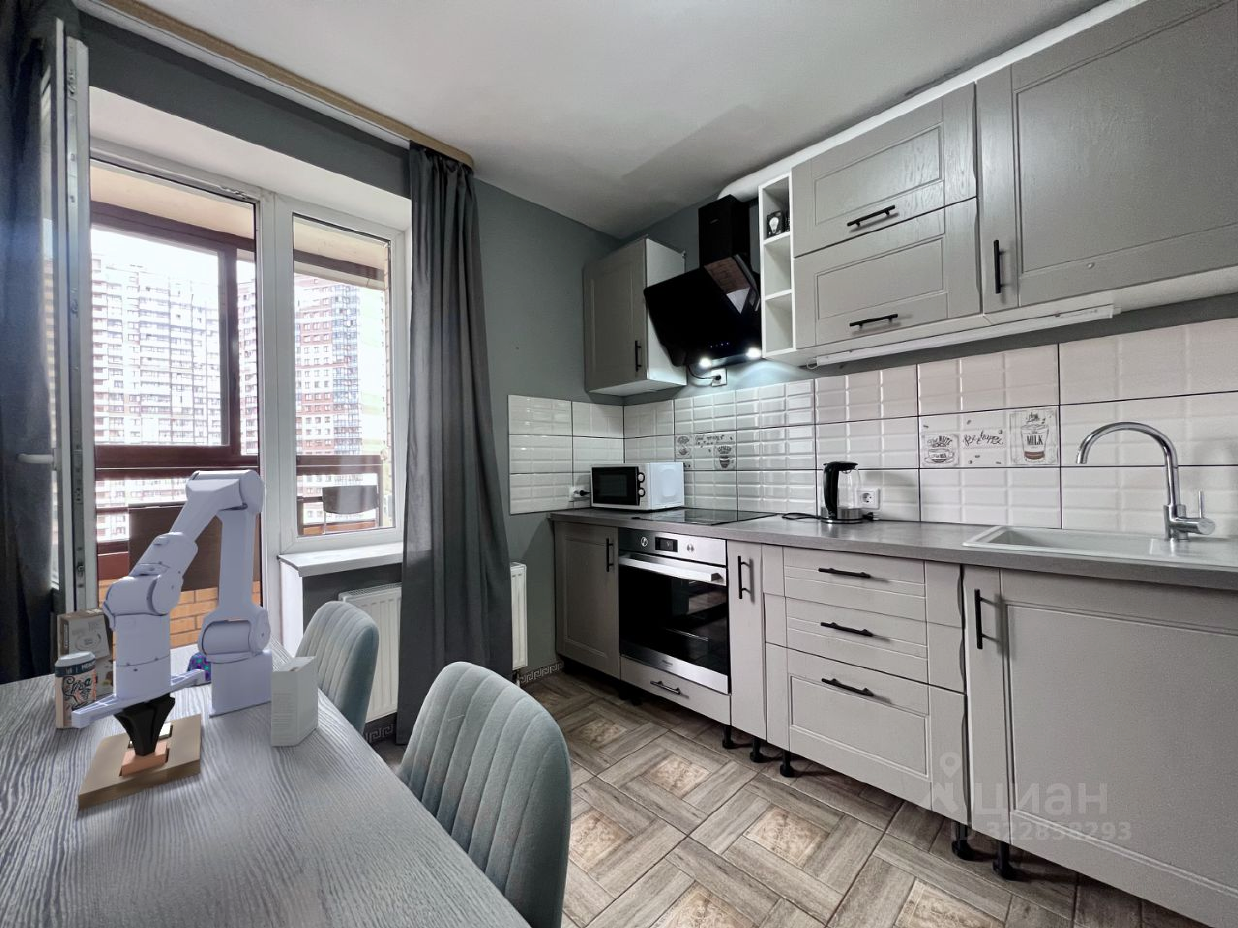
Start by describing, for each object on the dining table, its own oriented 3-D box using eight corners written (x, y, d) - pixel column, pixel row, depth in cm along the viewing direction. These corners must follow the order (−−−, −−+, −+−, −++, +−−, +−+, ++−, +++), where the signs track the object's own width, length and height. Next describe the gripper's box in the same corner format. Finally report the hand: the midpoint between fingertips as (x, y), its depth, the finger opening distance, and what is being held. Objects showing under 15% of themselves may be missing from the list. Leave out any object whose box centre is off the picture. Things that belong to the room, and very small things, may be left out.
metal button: (170, 737, 81) (170, 722, 81) (169, 748, 78) (169, 732, 78) (133, 747, 78) (133, 731, 78) (130, 759, 75) (129, 743, 75)
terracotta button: (167, 757, 74) (167, 740, 74) (165, 770, 71) (164, 753, 71) (126, 769, 72) (125, 751, 72) (122, 783, 68) (121, 765, 68)
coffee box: (115, 691, 100) (114, 611, 100) (68, 704, 94) (67, 620, 94) (102, 681, 105) (101, 605, 105) (57, 694, 99) (56, 613, 99)
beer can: (68, 731, 84) (67, 661, 84) (47, 729, 85) (47, 659, 85) (103, 717, 89) (102, 650, 89) (83, 715, 90) (82, 649, 90)
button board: (201, 724, 85) (201, 713, 85) (199, 772, 72) (199, 758, 72) (101, 751, 78) (101, 738, 78) (78, 810, 64) (77, 795, 64)
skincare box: (293, 727, 84) (292, 656, 84) (320, 726, 84) (319, 655, 84) (269, 748, 78) (267, 671, 78) (298, 746, 78) (297, 669, 78)
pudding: (195, 692, 99) (194, 665, 99) (158, 684, 103) (157, 659, 103) (256, 668, 111) (256, 645, 111) (221, 662, 115) (221, 640, 115)
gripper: (184, 639, 80) (185, 723, 79) (57, 675, 66) (59, 777, 66) (213, 643, 77) (215, 730, 77) (88, 681, 64) (89, 788, 63)
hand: (145, 752), depth 71 cm, fingers closed, pressing on terracotta button
